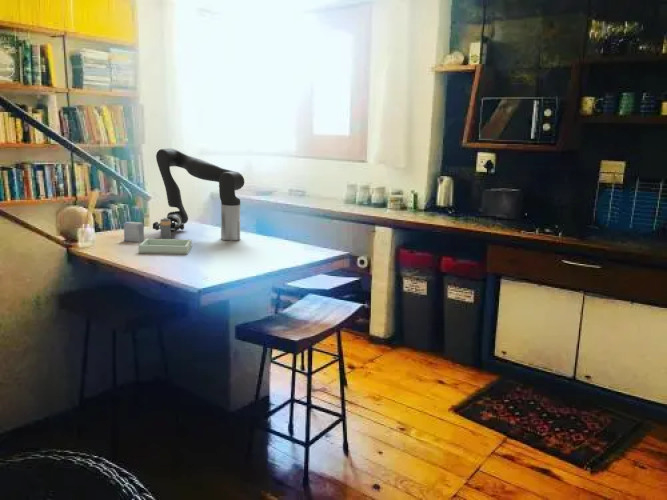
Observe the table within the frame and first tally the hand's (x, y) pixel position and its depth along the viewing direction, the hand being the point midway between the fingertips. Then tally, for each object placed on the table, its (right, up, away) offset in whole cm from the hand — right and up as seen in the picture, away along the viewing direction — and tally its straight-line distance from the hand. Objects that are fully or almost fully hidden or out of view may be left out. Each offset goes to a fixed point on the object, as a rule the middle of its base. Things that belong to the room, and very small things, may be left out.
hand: (166, 228), depth 263 cm
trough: (+5, -10, -16) cm, 19 cm away
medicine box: (-15, -6, +1) cm, 17 cm away
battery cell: (0, -7, 0) cm, 7 cm away
